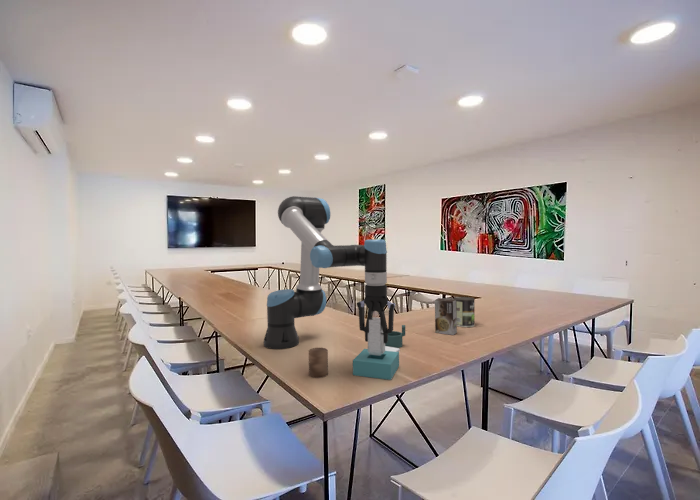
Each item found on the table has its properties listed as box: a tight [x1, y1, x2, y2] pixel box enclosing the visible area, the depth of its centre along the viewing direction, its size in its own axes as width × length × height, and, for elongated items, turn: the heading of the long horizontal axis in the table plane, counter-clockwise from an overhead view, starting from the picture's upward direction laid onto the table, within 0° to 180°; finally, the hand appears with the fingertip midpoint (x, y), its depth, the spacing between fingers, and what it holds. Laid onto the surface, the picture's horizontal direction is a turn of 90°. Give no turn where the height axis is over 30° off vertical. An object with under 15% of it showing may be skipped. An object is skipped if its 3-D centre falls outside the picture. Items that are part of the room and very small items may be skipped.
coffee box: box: [434, 297, 458, 336], centre depth 166 cm, size 9×6×16 cm
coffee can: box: [453, 296, 476, 328], centre depth 181 cm, size 10×10×14 cm
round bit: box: [308, 347, 329, 379], centre depth 117 cm, size 6×6×8 cm
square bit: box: [369, 316, 383, 356], centre depth 119 cm, size 4×4×12 cm
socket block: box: [352, 348, 400, 381], centre depth 119 cm, size 13×13×5 cm
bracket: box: [385, 324, 406, 349], centre depth 148 cm, size 9×9×9 cm
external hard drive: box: [385, 346, 401, 353], centre depth 137 cm, size 2×8×12 cm
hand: (376, 351), depth 119 cm, fingers closed on square bit, 4 cm apart
